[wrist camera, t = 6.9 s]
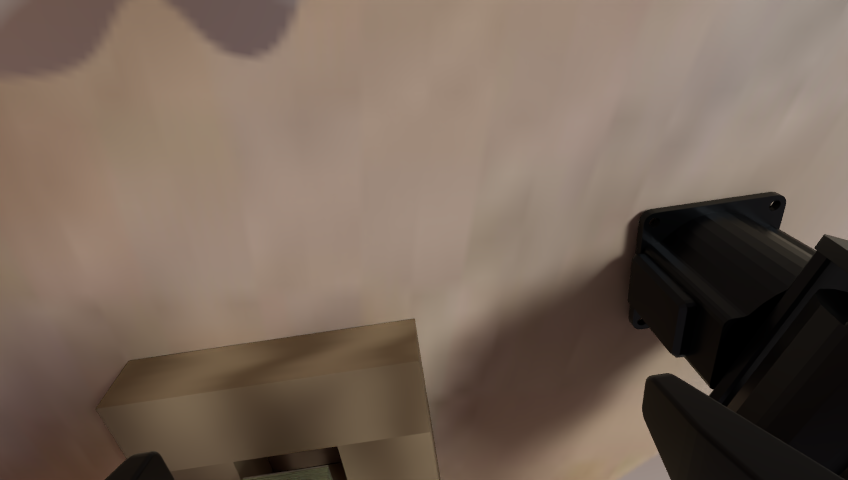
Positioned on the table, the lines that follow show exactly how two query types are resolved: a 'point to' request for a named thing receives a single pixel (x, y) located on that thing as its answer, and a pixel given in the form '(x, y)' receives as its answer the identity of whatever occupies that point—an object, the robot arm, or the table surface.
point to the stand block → (281, 406)
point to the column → (297, 474)
